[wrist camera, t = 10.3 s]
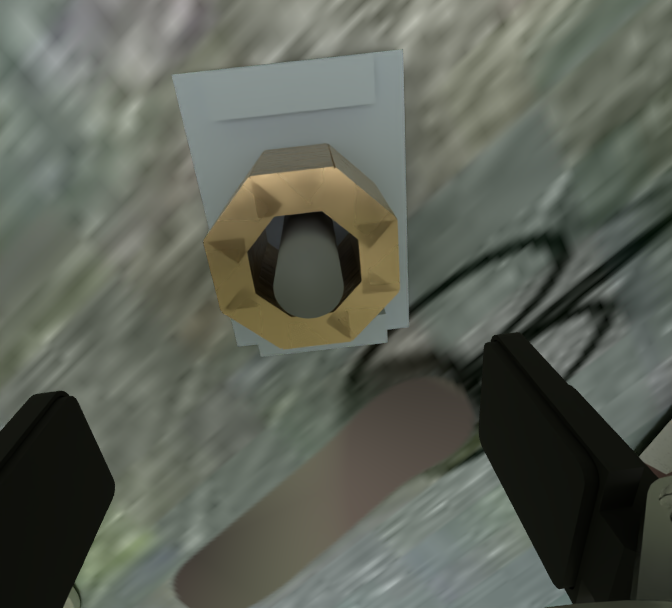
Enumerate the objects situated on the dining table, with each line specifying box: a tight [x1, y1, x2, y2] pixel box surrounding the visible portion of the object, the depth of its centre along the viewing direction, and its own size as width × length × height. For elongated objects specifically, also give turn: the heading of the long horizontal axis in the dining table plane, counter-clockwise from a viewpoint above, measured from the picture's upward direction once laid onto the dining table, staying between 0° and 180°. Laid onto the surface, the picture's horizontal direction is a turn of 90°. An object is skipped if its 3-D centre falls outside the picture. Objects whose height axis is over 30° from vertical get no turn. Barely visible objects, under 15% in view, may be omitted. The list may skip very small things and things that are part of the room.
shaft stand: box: [172, 49, 409, 357], centre depth 19 cm, size 14×10×10 cm
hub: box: [203, 143, 400, 350], centre depth 19 cm, size 7×7×6 cm
